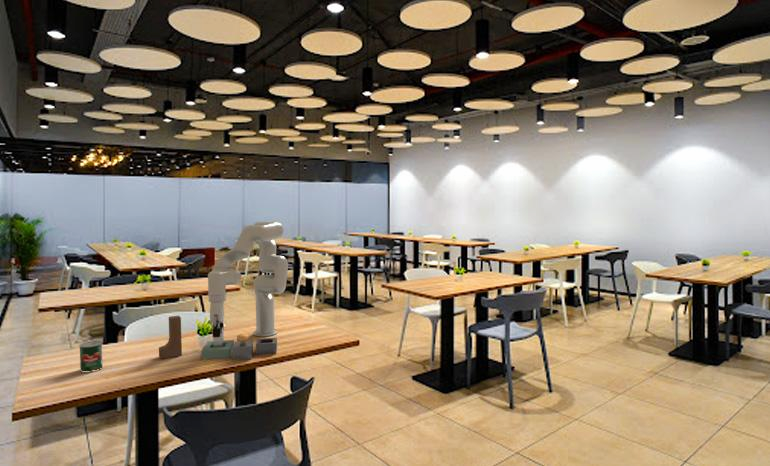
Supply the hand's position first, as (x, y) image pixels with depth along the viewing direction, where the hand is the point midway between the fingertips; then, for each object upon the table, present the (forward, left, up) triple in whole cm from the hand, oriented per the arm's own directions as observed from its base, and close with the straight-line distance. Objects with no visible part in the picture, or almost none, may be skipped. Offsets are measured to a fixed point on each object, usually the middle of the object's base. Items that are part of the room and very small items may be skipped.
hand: (218, 334), depth 213 cm
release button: (+7, +12, -8) cm, 16 cm away
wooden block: (0, -21, -9) cm, 23 cm away
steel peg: (0, 0, -9) cm, 9 cm away
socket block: (+1, +22, -9) cm, 24 cm away
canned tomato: (+12, -49, -9) cm, 51 cm away
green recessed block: (0, 0, -9) cm, 9 cm away
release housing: (+7, +12, -9) cm, 17 cm away
